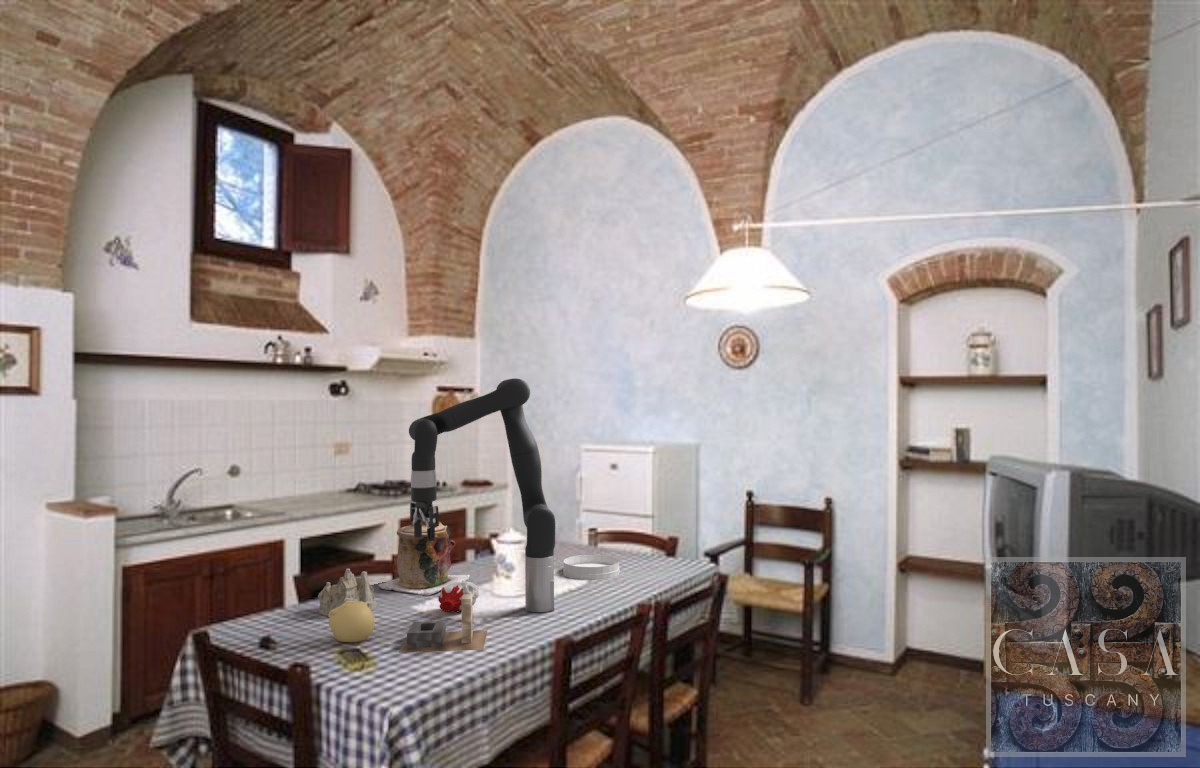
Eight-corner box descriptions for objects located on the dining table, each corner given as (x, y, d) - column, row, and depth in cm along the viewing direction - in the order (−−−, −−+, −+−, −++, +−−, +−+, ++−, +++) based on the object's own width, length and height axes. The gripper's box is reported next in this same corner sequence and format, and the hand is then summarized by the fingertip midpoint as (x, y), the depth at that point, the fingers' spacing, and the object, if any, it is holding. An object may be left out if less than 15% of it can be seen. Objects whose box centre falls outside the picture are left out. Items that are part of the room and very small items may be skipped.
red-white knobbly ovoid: (480, 603, 243) (463, 623, 229) (448, 601, 246) (429, 620, 231) (479, 577, 242) (462, 595, 228) (447, 575, 245) (428, 592, 230)
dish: (554, 570, 293) (554, 557, 293) (604, 564, 302) (604, 552, 302) (576, 583, 273) (576, 569, 273) (629, 576, 282) (629, 563, 282)
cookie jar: (375, 589, 264) (375, 500, 265) (418, 574, 287) (418, 492, 287) (432, 597, 254) (431, 504, 255) (472, 580, 277) (471, 495, 277)
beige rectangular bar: (472, 637, 207) (472, 594, 207) (470, 643, 202) (470, 598, 202) (463, 637, 206) (463, 594, 207) (461, 643, 201) (461, 599, 202)
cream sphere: (358, 630, 218) (358, 593, 218) (382, 638, 210) (382, 600, 211) (322, 640, 209) (322, 602, 209) (346, 649, 201) (346, 609, 202)
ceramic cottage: (383, 608, 240) (380, 562, 241) (336, 622, 228) (333, 573, 228) (358, 602, 250) (355, 558, 251) (312, 615, 238) (309, 568, 239)
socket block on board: (487, 635, 212) (487, 616, 212) (483, 655, 196) (483, 634, 196) (409, 638, 211) (409, 618, 211) (399, 658, 195) (399, 637, 195)
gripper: (446, 486, 220) (447, 540, 220) (424, 482, 231) (424, 534, 231) (423, 488, 215) (423, 544, 215) (401, 484, 226) (402, 537, 226)
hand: (424, 538), depth 223 cm, fingers open, 8 cm apart
